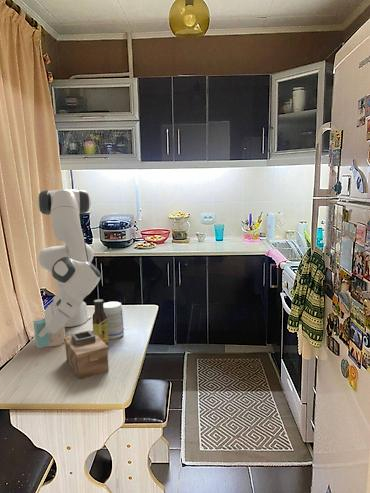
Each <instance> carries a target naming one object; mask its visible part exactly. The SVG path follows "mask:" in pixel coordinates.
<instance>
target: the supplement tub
mask: <svg viewBox="0 0 370 493" xmlns="http://www.w3.org/2000/svg"><path fill="white" fill-rule="evenodd" d="M103 308H104V312H105V314H106V316H107V324H108V340H113V339H115V340H116V339H119V338H121V337H123V335H124V333H125V332H124V331H125V330H124V329H125V328H124V327H125V326H124V316H123V305H122V302H119V301H108V302H104V303H103Z"/></svg>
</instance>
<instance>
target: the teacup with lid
mask: <svg viewBox="0 0 370 493" xmlns="http://www.w3.org/2000/svg"><path fill="white" fill-rule="evenodd" d="M63 337H66V327H64V326H63V327H62V328H61V329H60V330H59V331H58V332H56V333H55V334H52V333H51V332H49V342H50V345H48V346H47V347H58V346H61V345H63V344H65V341H64V338H63Z"/></svg>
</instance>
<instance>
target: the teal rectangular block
mask: <svg viewBox="0 0 370 493" xmlns="http://www.w3.org/2000/svg"><path fill="white" fill-rule="evenodd" d="M44 326H45V319H44V318H43V319H38V320H34V321H33V330H34V338H35V345H36V347H37V348H43V347H49V346H48V345H50V342H49V332H48V333H46V334H45V335H44V336H43V337H40V336H39V335H38V333H39V332H40V330H42V329H43V328H44Z"/></svg>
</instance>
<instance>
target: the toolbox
mask: <svg viewBox="0 0 370 493" xmlns="http://www.w3.org/2000/svg"><path fill="white" fill-rule="evenodd" d="M63 338H64V341H65V343H64V345H65V355H66V361H67V362H68V364H69V365H70V367H71V368H72V370H73V371H74V373H75V374H76V376H77V377H78V378H79V380H80V379H85V378H88V377H92V376H94V375H98V374H101V373H104V372H106V373H107V372H108V371H109V370H110V369H109V368H110V367H109V358H108V356H109V355H108V351H109V349H110V348H109V346H108V345H106V344H105V343H104V342H103V341H102V340H101V339H100V338H99V337H98V336H97V335H96V334H95V333H94V332H93V330H89V329H88V330H84V331H80V332H77V333H76V332H75V333H71V334H70V335H68V336H65V337H63Z"/></svg>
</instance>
